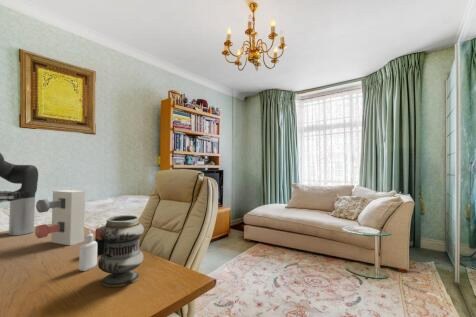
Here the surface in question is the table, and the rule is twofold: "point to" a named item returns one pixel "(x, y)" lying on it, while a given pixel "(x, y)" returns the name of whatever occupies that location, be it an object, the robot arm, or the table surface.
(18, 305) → the table surface
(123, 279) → the apothecary jar
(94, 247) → the eye dropper bottle
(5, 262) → the table surface
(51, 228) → the lower red button
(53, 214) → the box
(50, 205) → the upper grey button
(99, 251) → the battery
